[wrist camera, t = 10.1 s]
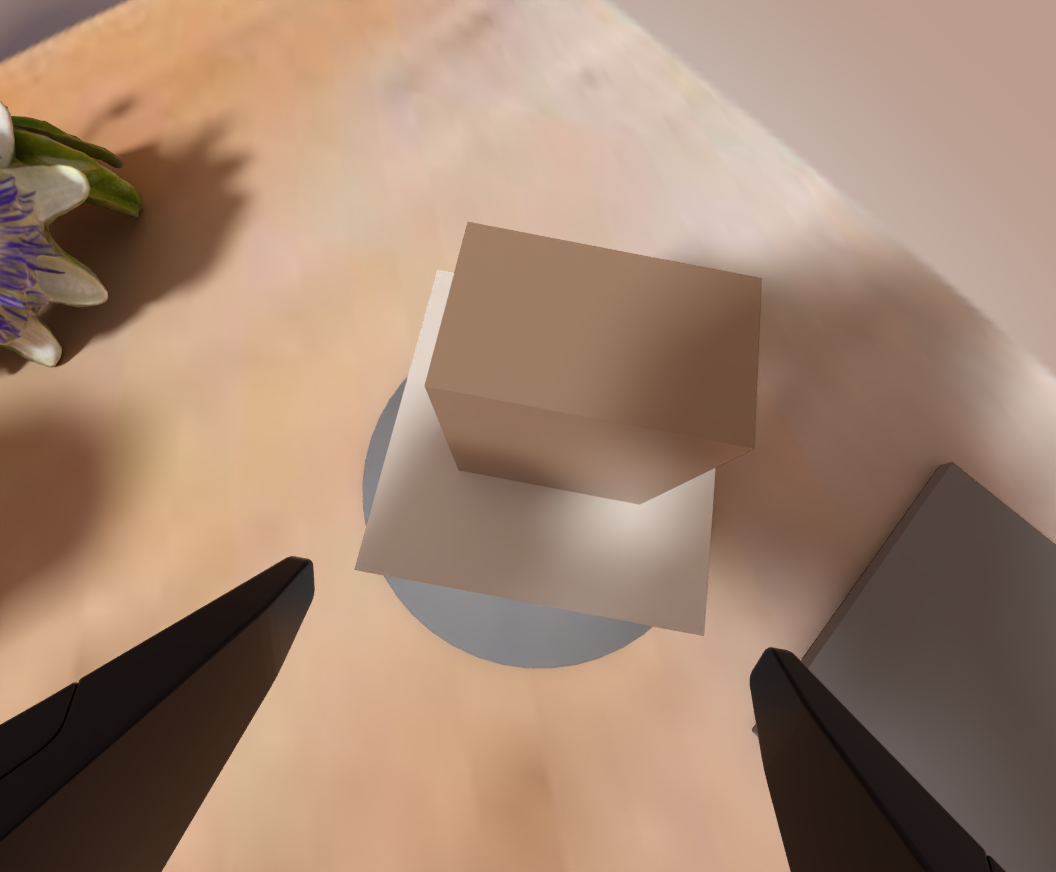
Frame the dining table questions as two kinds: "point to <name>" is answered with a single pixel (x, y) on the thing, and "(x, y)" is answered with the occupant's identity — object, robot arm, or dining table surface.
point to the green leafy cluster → (47, 227)
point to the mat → (959, 664)
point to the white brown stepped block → (568, 429)
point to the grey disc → (495, 602)
